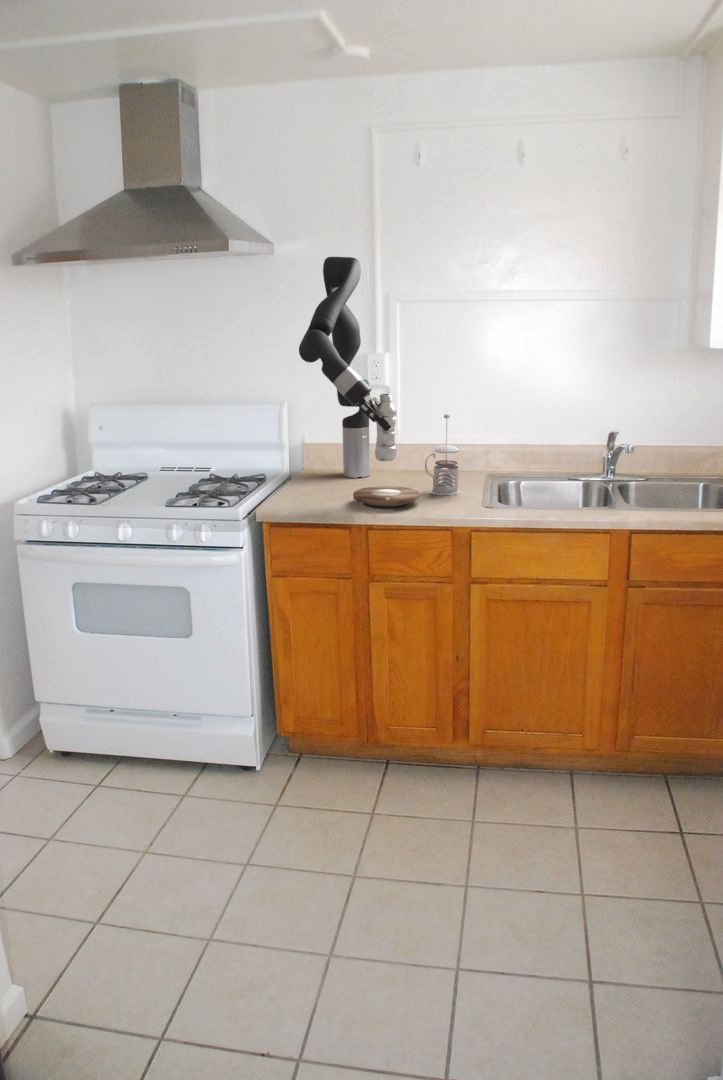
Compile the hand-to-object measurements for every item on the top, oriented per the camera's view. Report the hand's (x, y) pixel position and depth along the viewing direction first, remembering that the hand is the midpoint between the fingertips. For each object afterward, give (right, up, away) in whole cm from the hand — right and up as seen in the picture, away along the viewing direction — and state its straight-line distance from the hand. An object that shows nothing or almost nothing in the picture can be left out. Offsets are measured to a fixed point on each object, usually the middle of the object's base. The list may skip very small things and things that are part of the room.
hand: (391, 427), depth 263 cm
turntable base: (-1, -22, +7) cm, 23 cm away
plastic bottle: (-2, -10, +3) cm, 11 cm away
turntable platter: (-1, -20, +6) cm, 21 cm away
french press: (+17, -18, +21) cm, 33 cm away
